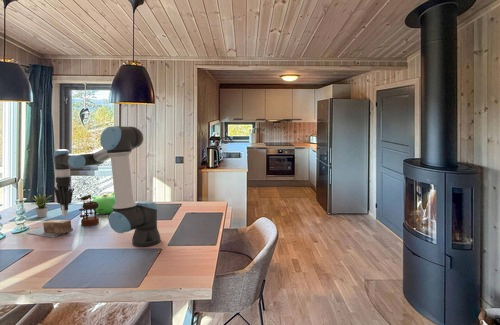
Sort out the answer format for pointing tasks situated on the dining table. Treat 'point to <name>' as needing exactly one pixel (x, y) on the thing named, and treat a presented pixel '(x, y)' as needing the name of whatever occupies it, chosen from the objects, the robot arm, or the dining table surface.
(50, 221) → the brown rectangular block
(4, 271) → the dining table surface
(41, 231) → the mat
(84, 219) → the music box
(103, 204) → the green rounded lump
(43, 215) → the house plant
